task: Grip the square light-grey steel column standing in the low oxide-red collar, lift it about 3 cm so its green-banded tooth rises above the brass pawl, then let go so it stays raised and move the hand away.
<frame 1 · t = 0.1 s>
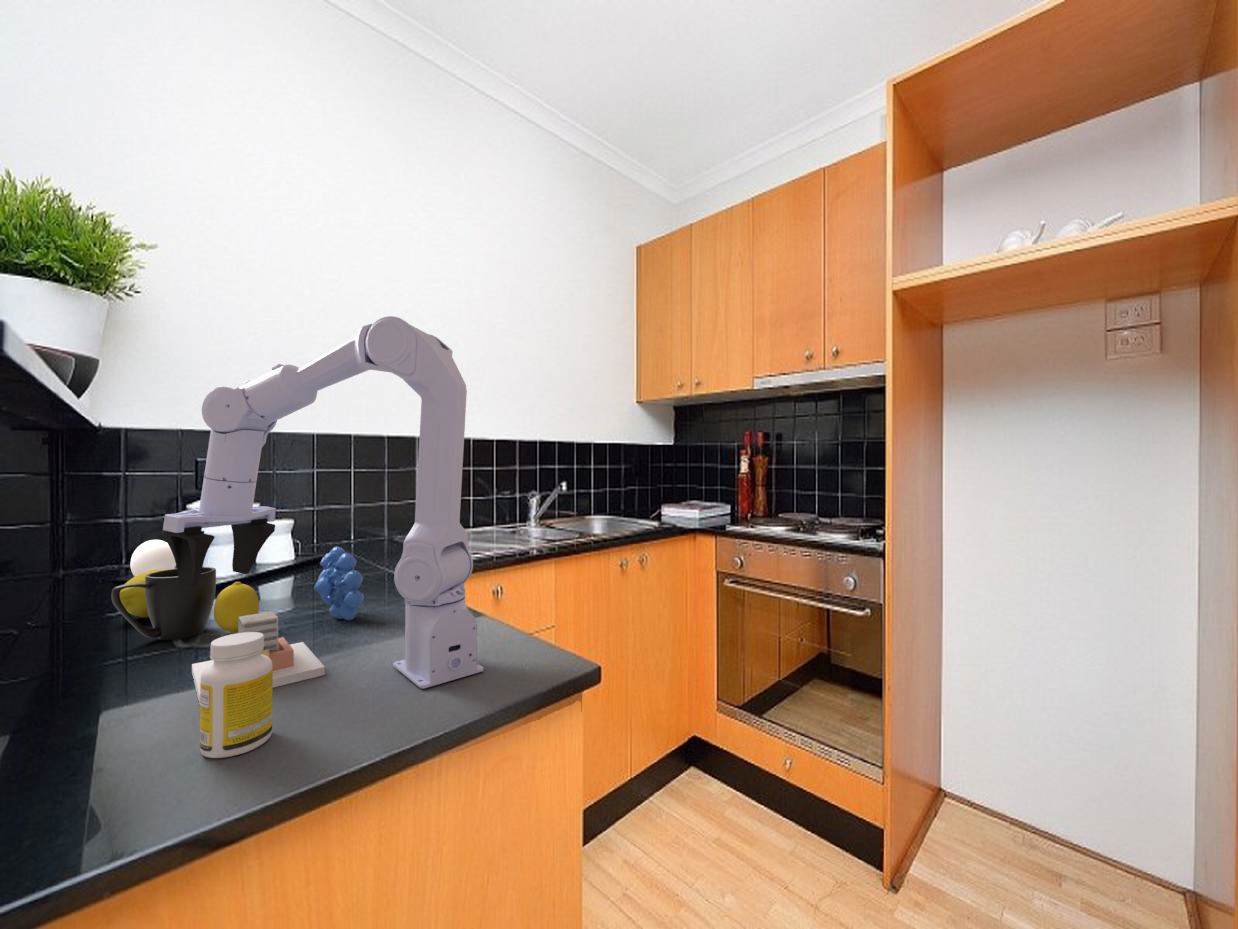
hand: (215, 578, 69), 11 cm above the worktop, tool pointing down, fingers open, 7 cm apart
grapes: (334, 621, 86), on the worktop
lemon 2: (155, 618, 87), on the worktop
mug: (165, 639, 77), on the worktop
column: (258, 640, 64), point 4 cm above the worktop, slide at 0.0 cm
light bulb: (153, 596, 101), on the worktop
lemon: (236, 635, 78), on the worktop
stand base: (257, 673, 64), on the worktop
supplement bottle: (237, 746, 48), on the worktop
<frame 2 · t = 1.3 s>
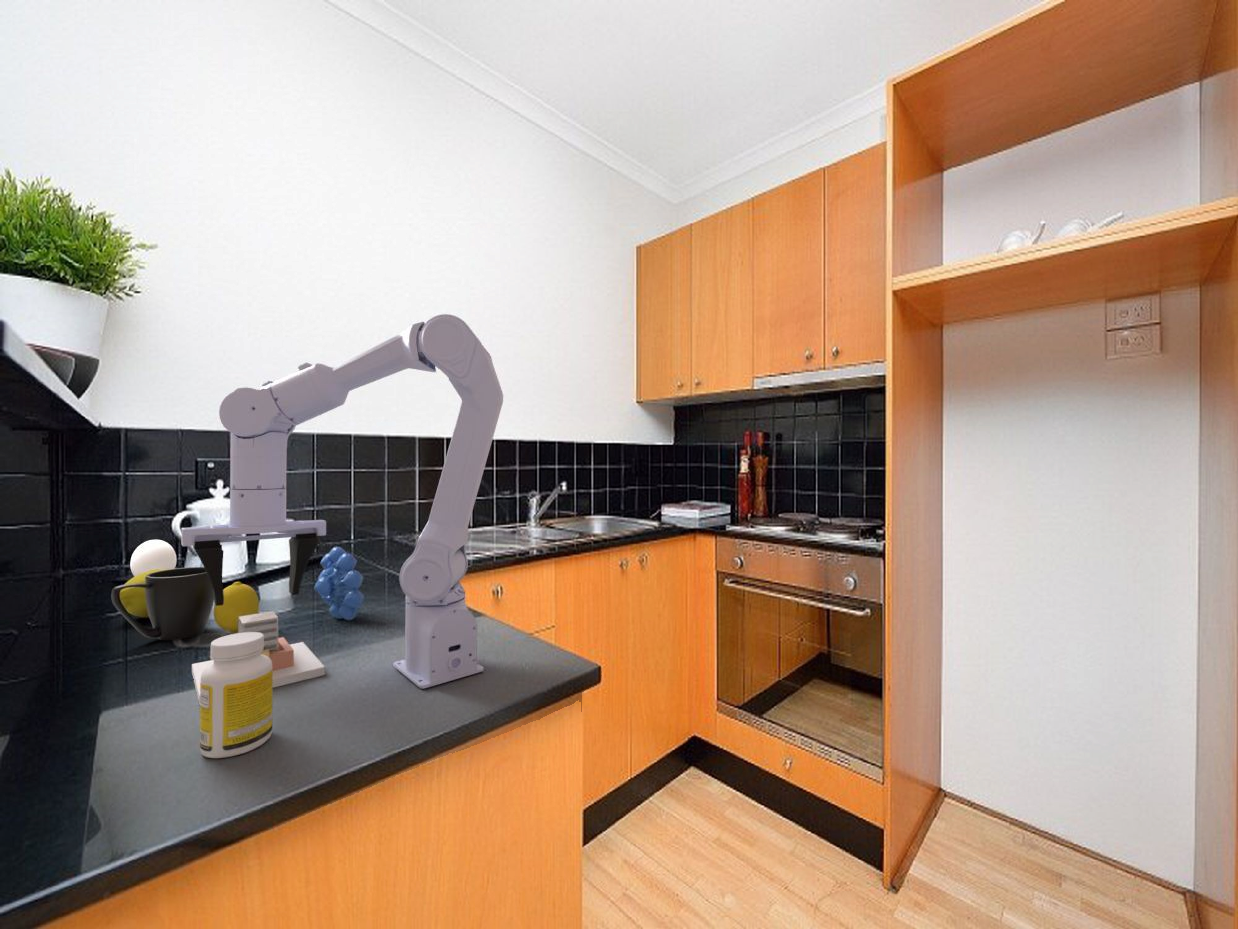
hand: (258, 598, 64), 9 cm above the worktop, tool pointing down, fingers open, 7 cm apart
nothing on the worktop moved.
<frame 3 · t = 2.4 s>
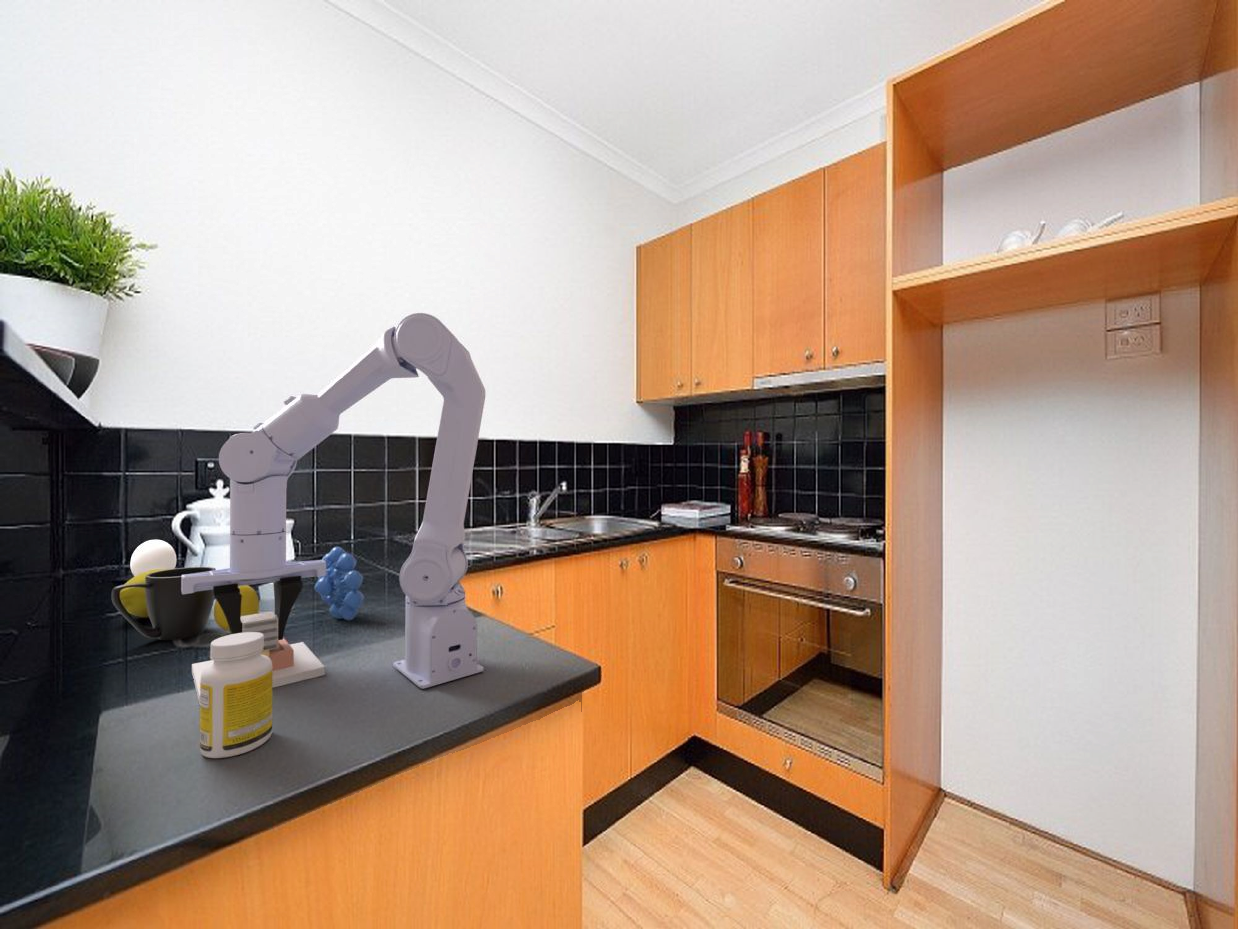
hand: (258, 642, 64), 4 cm above the worktop, tool pointing down, fingers closed on column, 4 cm apart
column: (258, 640, 64), point 4 cm above the worktop, slide at 0.0 cm, touching gripper
everything else where it was.
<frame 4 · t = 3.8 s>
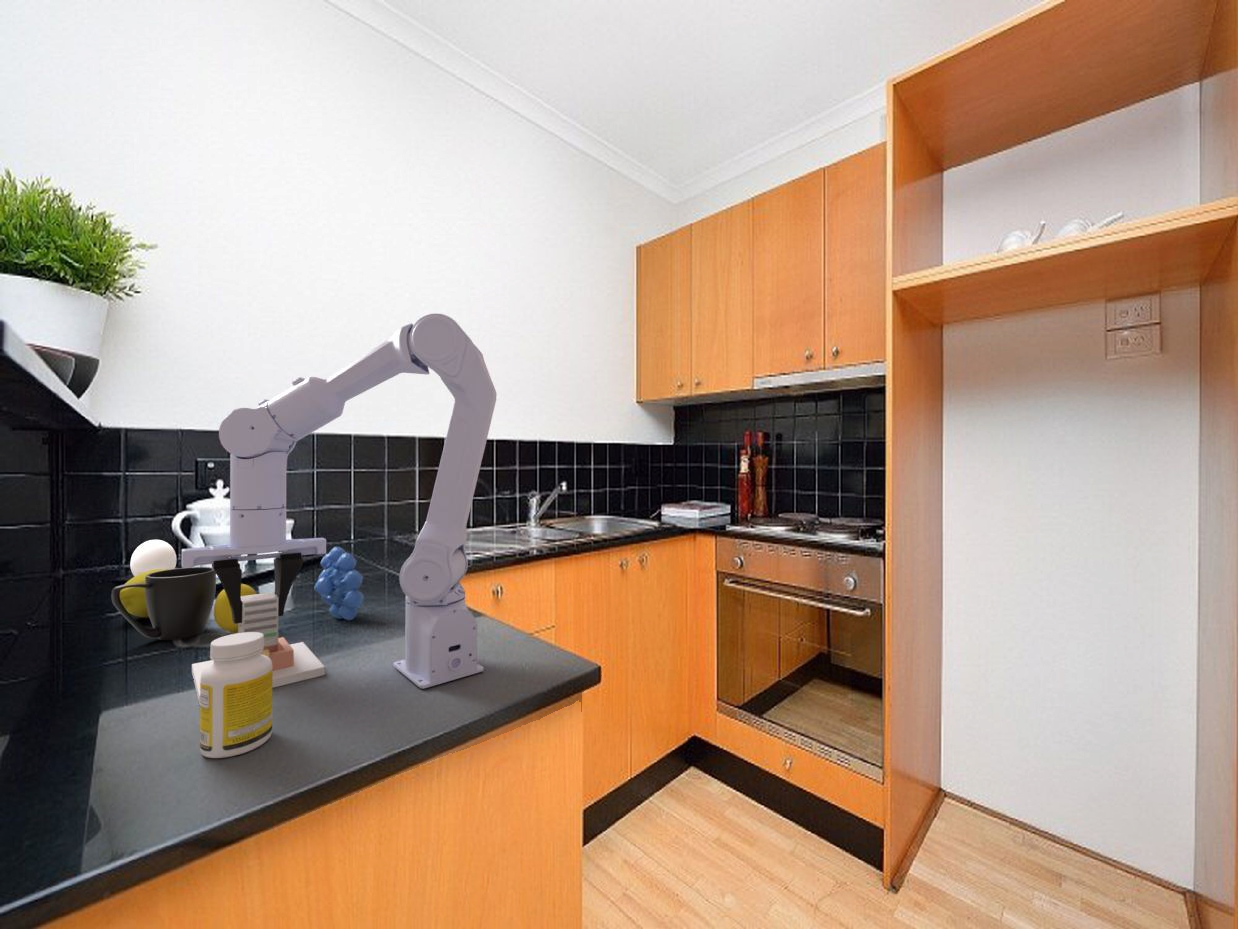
hand: (258, 618, 64), 7 cm above the worktop, tool pointing down, fingers closed on column, 4 cm apart
column: (258, 620, 64), point 7 cm above the worktop, slide at 2.5 cm, touching gripper
everything else where it was.
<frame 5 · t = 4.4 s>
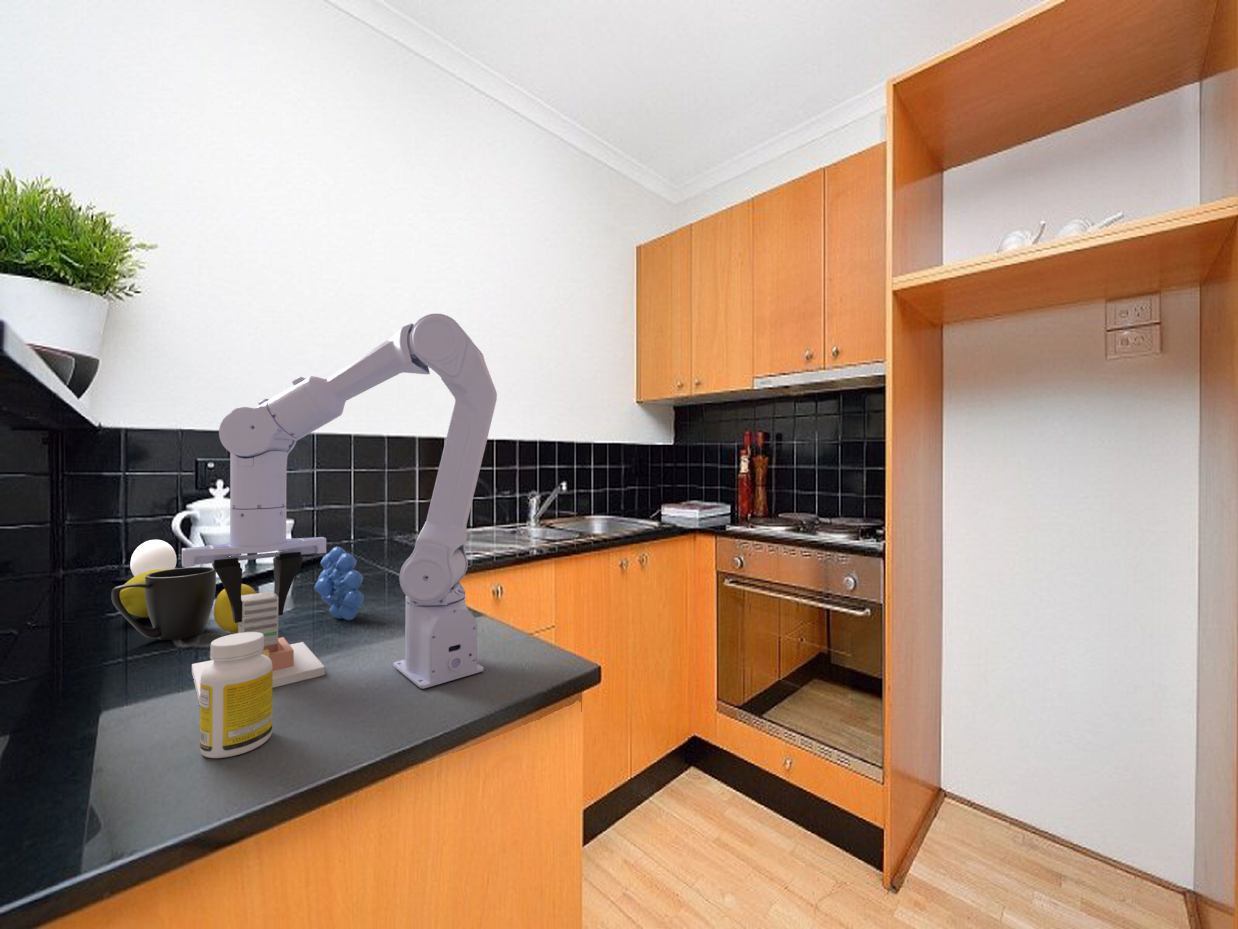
hand: (258, 617, 64), 7 cm above the worktop, tool pointing down, fingers closed on column, 3 cm apart
column: (258, 619, 64), point 7 cm above the worktop, slide at 2.6 cm, touching gripper
everything else where it was.
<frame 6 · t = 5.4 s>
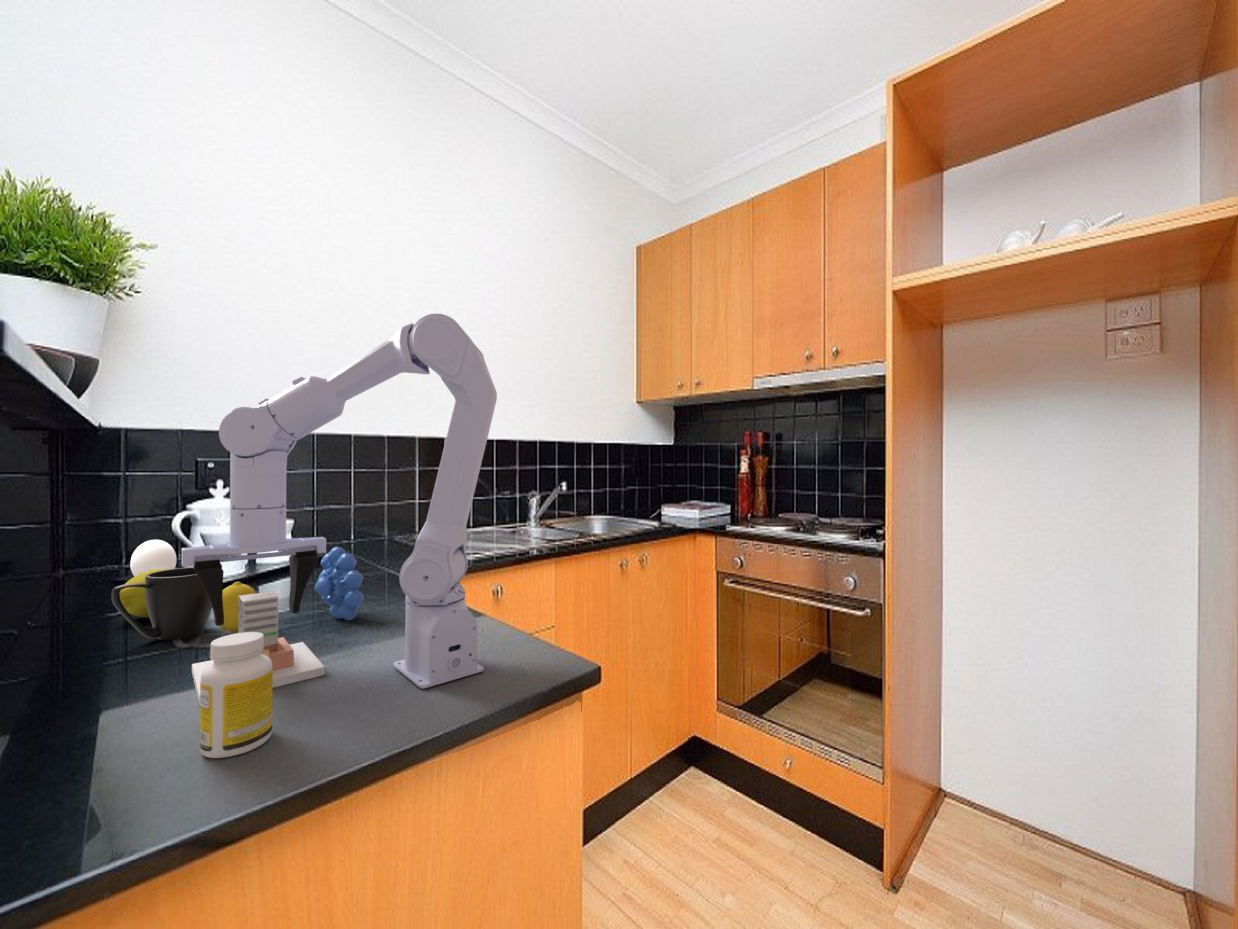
hand: (258, 617, 64), 7 cm above the worktop, tool pointing down, fingers open, 7 cm apart
column: (258, 619, 64), point 7 cm above the worktop, slide at 2.6 cm
everything else where it was.
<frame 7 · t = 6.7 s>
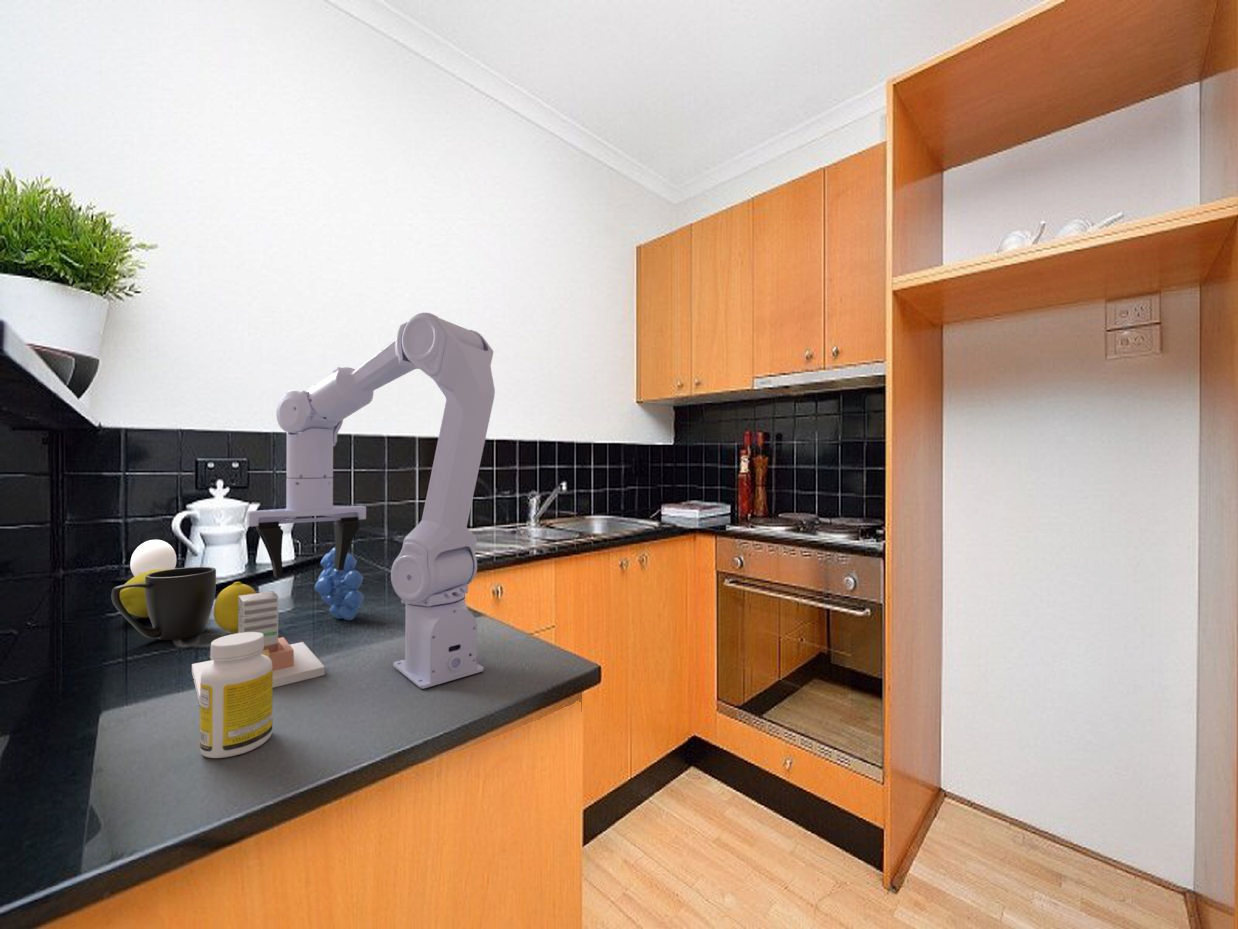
hand: (309, 572, 74), 10 cm above the worktop, tool pointing down, fingers open, 7 cm apart
nothing on the worktop moved.
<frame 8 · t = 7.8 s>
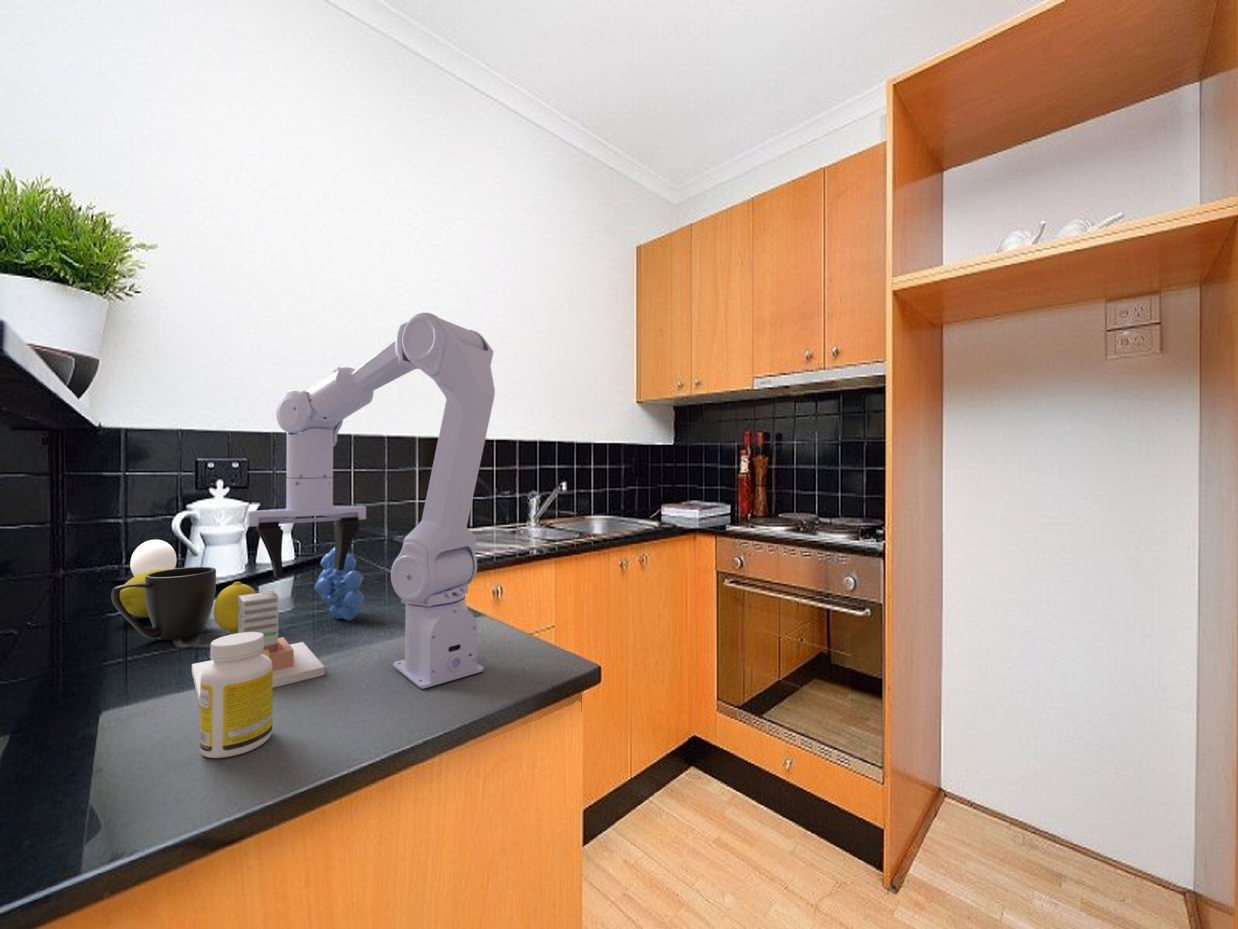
hand: (309, 572, 74), 10 cm above the worktop, tool pointing down, fingers open, 7 cm apart
nothing on the worktop moved.
at the end: column slide at 2.6 cm; the gripper is holding nothing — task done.
